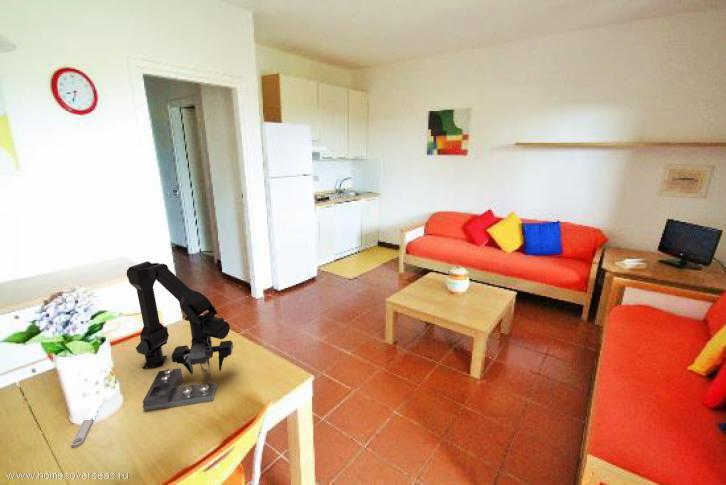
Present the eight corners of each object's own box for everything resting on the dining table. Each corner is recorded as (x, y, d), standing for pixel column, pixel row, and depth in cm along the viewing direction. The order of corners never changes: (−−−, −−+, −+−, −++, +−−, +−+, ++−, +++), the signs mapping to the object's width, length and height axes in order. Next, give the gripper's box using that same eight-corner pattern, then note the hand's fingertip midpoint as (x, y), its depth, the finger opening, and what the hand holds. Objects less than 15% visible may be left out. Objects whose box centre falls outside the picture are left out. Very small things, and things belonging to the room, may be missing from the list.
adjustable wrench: (82, 448, 94) (81, 442, 94) (54, 453, 92) (52, 448, 92) (118, 387, 117) (116, 383, 117) (96, 391, 115) (94, 386, 115)
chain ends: (159, 381, 120) (157, 369, 119) (220, 373, 124) (218, 361, 123) (143, 412, 106) (140, 399, 105) (212, 401, 110) (210, 389, 109)
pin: (202, 375, 123) (199, 353, 120) (214, 373, 124) (211, 352, 121) (199, 382, 119) (196, 360, 117) (212, 380, 120) (209, 358, 118)
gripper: (162, 349, 107) (170, 391, 111) (226, 341, 111) (231, 382, 115) (173, 331, 117) (179, 370, 122) (231, 325, 121) (235, 363, 126)
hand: (206, 372), depth 121 cm, fingers open, 9 cm apart
